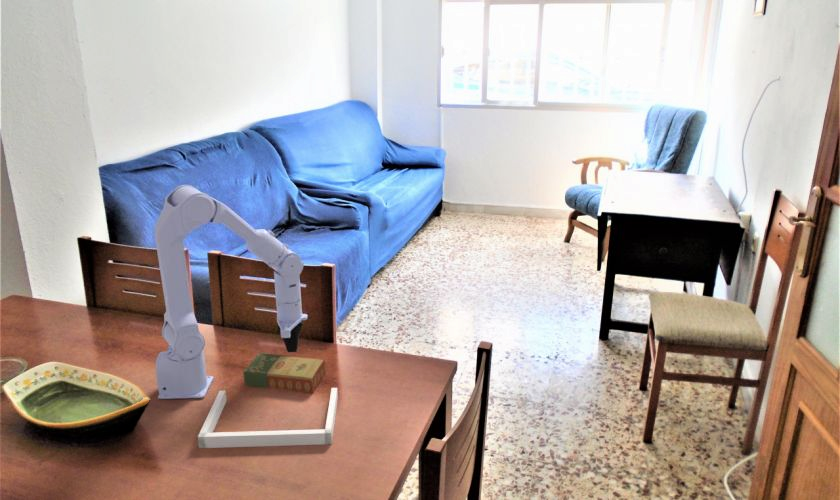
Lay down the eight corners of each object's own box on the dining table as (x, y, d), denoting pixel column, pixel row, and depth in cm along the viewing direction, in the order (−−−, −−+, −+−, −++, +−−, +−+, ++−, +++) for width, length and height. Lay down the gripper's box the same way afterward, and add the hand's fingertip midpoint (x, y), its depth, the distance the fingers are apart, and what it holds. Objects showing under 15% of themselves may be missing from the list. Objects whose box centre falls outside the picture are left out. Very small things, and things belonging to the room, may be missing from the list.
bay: (199, 448, 108) (197, 437, 108) (220, 400, 123) (219, 390, 122) (331, 444, 110) (330, 433, 109) (337, 397, 124) (337, 387, 123)
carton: (313, 395, 126) (312, 377, 124) (243, 387, 128) (241, 370, 127) (326, 374, 133) (325, 357, 132) (260, 367, 136) (258, 351, 135)
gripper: (301, 312, 129) (305, 365, 134) (309, 286, 143) (312, 336, 147) (269, 312, 129) (274, 366, 133) (280, 286, 143) (284, 336, 147)
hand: (292, 350), depth 140 cm, fingers closed
